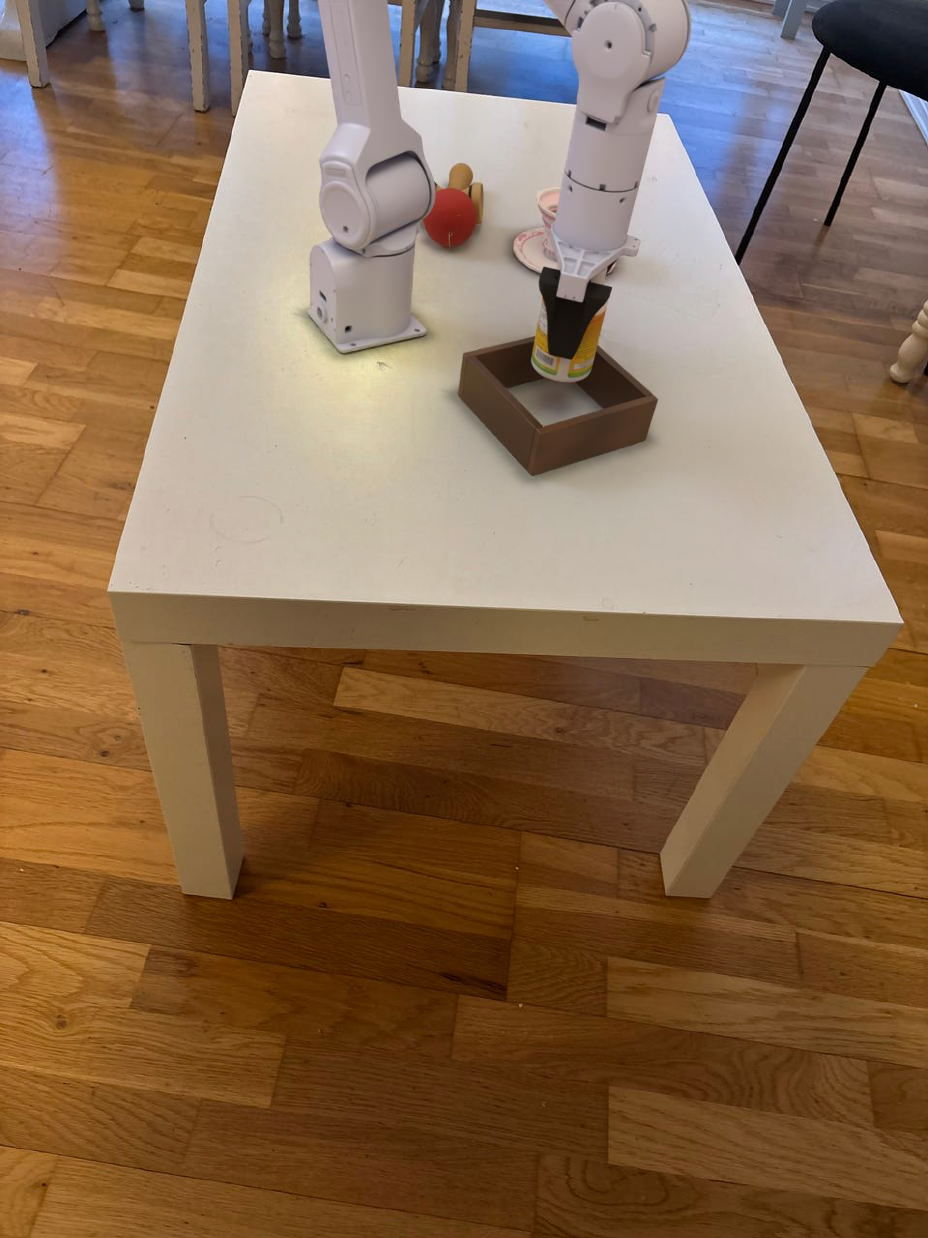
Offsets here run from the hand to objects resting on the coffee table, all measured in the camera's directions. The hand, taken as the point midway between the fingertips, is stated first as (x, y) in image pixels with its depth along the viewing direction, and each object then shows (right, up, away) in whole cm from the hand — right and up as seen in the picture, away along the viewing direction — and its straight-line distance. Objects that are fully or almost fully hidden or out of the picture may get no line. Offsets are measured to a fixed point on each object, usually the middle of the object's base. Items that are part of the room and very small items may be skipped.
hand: (566, 337), depth 78 cm
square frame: (-1, -6, +6) cm, 8 cm away
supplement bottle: (0, -2, +2) cm, 3 cm away
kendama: (-10, +23, +30) cm, 39 cm away
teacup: (+3, +17, +27) cm, 32 cm away
